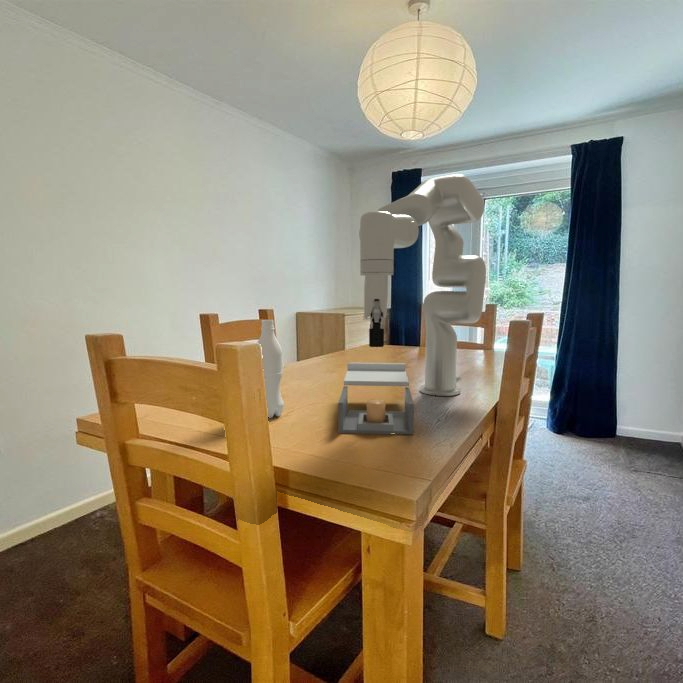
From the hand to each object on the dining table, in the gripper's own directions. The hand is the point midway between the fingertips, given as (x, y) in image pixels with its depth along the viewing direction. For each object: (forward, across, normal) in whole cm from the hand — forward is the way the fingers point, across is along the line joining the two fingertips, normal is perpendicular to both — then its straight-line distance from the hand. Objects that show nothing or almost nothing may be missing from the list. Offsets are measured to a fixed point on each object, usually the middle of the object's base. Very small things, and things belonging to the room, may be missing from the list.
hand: (376, 343), depth 95 cm
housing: (+20, -3, 0) cm, 20 cm away
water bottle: (+20, -7, -28) cm, 35 cm away
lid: (+13, -18, 0) cm, 22 cm away
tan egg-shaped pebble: (+19, +1, 0) cm, 19 cm away
